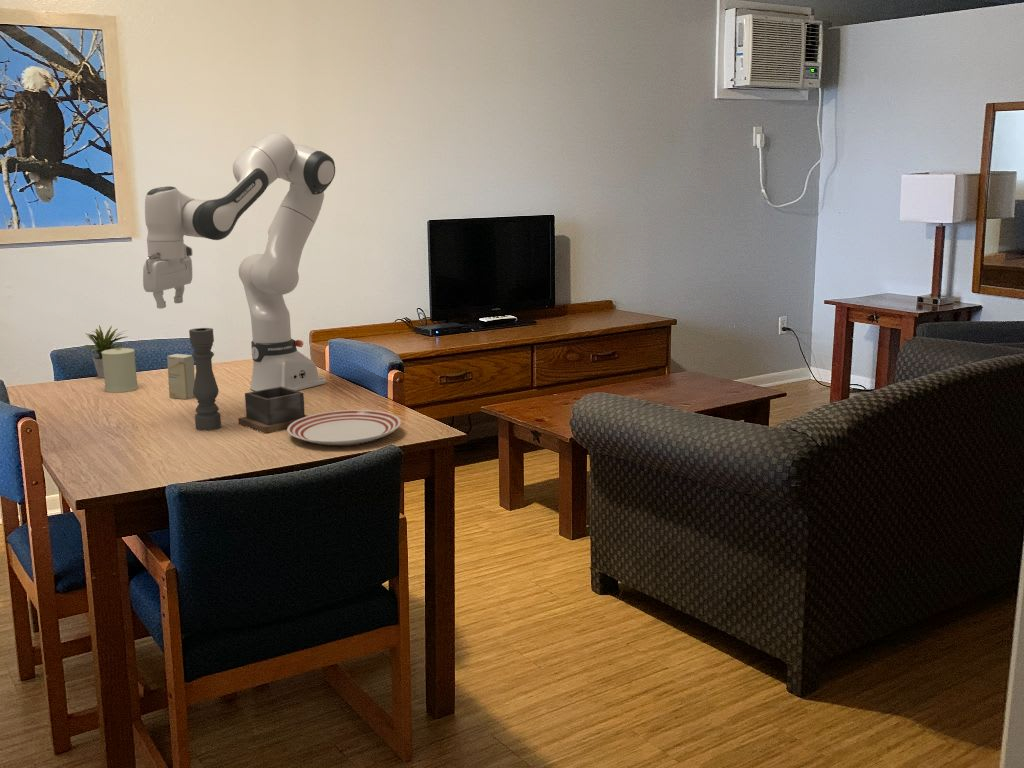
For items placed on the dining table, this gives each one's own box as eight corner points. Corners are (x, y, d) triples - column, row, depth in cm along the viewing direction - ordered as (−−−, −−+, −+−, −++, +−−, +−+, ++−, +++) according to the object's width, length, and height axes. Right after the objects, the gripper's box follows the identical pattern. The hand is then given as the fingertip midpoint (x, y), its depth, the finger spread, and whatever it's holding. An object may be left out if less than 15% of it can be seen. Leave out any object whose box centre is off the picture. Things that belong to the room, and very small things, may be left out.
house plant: (120, 382, 308) (115, 329, 304) (75, 382, 308) (69, 329, 304) (137, 372, 322) (133, 321, 318) (94, 372, 322) (89, 322, 318)
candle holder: (226, 425, 256) (219, 328, 251) (209, 431, 251) (202, 332, 245) (207, 423, 259) (200, 327, 253) (190, 429, 253) (182, 330, 248)
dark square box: (286, 414, 267) (284, 384, 265) (313, 422, 258) (311, 392, 256) (238, 423, 258) (236, 393, 256) (265, 433, 249) (263, 401, 247)
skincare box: (169, 398, 287) (165, 356, 284) (179, 394, 291) (176, 353, 288) (186, 399, 284) (183, 357, 282) (197, 396, 288) (193, 354, 286)
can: (138, 384, 304) (134, 345, 301) (138, 391, 296) (134, 350, 293) (105, 387, 301) (101, 347, 298) (104, 393, 292) (100, 353, 290)
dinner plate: (354, 458, 228) (354, 444, 228) (263, 442, 241) (262, 429, 241) (423, 430, 252) (422, 417, 251) (336, 417, 265) (336, 405, 264)
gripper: (158, 255, 246) (162, 311, 249) (195, 248, 266) (198, 300, 269) (134, 255, 247) (138, 311, 250) (172, 248, 267) (176, 300, 270)
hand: (170, 305), depth 260 cm, fingers open, 8 cm apart
